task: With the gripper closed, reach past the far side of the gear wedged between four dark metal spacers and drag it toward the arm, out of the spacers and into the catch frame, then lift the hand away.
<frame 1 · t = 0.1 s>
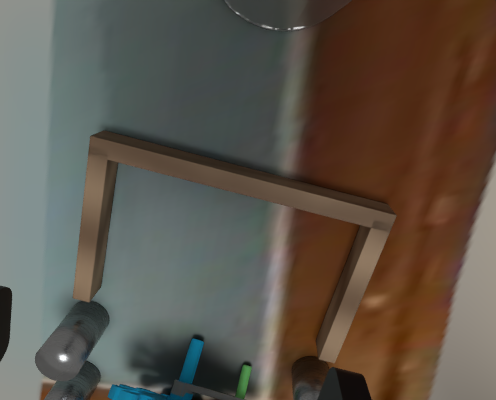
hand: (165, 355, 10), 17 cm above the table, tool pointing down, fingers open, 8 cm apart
catch frame: (226, 246, 28), on the table
gear: (194, 369, 32), on the table
spacers: (193, 372, 32), on the table
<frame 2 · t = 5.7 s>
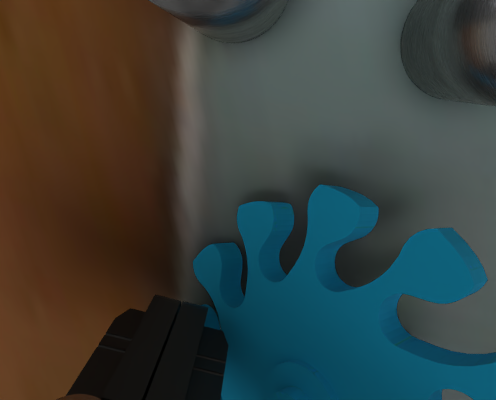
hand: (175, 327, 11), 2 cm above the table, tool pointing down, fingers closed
gear: (294, 317, 13), on the table, touching gripper
spacers: (259, 306, 13), on the table
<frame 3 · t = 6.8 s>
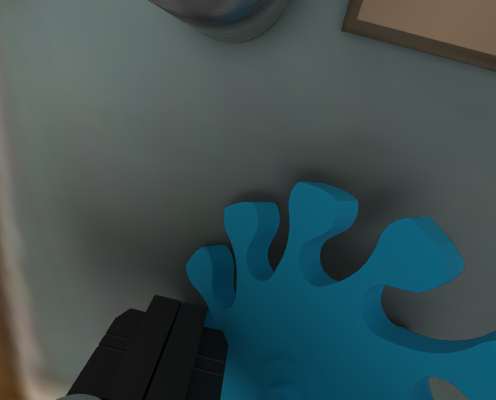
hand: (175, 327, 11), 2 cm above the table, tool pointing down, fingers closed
catch frame: (436, 350, 13), on the table
gear: (291, 315, 13), on the table, touching gripper
spacers: (79, 260, 13), on the table
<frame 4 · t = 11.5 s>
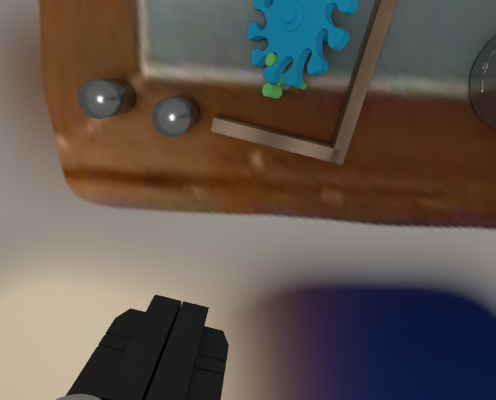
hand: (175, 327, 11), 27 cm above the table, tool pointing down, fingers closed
catch frame: (306, 34, 33), on the table
gear: (292, 32, 33), on the table
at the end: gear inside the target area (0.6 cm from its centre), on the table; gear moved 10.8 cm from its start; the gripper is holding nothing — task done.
